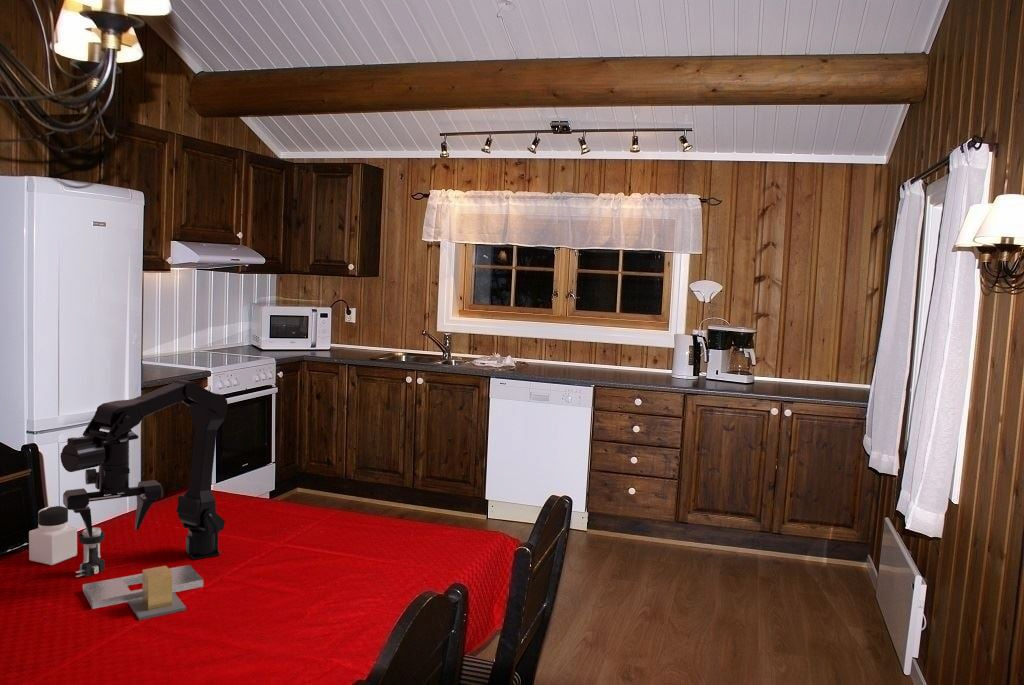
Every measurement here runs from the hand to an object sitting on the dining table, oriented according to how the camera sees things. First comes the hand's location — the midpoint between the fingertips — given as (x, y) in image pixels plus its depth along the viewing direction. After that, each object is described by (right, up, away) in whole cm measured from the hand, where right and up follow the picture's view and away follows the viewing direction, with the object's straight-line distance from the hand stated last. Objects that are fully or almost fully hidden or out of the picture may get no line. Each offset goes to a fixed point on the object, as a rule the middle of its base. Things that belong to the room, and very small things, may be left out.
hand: (114, 533), depth 175 cm
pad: (+13, -14, -7) cm, 20 cm away
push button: (-9, -11, +7) cm, 16 cm away
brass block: (+13, -13, -7) cm, 19 cm away
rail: (+6, -12, +1) cm, 14 cm away
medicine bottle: (-22, -10, +15) cm, 28 cm away
